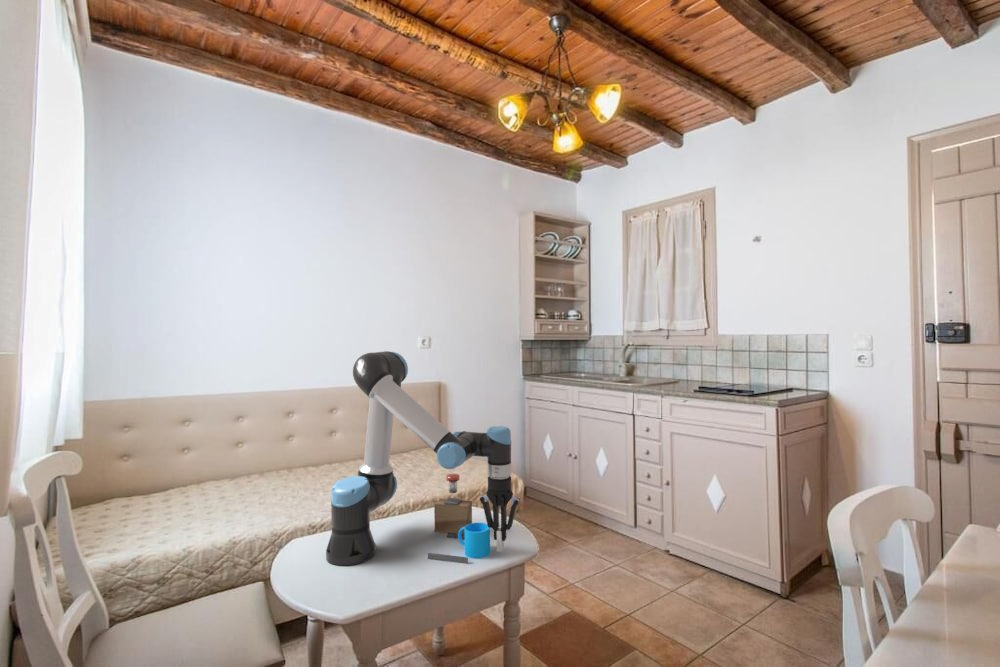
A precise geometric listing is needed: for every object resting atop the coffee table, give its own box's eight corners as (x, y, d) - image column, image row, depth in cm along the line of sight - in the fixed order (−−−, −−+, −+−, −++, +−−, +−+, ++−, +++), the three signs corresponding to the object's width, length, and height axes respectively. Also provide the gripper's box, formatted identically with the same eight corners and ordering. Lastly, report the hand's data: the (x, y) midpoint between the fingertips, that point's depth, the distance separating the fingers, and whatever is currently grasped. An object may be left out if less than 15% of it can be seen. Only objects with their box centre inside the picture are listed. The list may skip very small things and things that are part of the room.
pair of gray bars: (427, 558, 152) (427, 553, 152) (447, 536, 168) (447, 532, 168) (467, 563, 148) (467, 558, 148) (483, 540, 165) (483, 536, 165)
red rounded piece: (444, 493, 172) (444, 477, 172) (449, 489, 176) (449, 473, 176) (456, 494, 170) (456, 477, 170) (461, 490, 175) (461, 474, 175)
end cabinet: (466, 535, 169) (466, 505, 169) (434, 532, 172) (434, 502, 172) (472, 528, 175) (471, 499, 175) (441, 525, 178) (440, 496, 178)
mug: (495, 551, 156) (494, 526, 156) (479, 561, 150) (479, 534, 150) (466, 542, 163) (466, 518, 163) (450, 551, 157) (450, 526, 157)
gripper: (476, 477, 152) (477, 552, 152) (516, 480, 149) (517, 557, 149) (483, 471, 160) (484, 542, 160) (522, 474, 156) (522, 547, 156)
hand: (500, 549), depth 154 cm, fingers closed
